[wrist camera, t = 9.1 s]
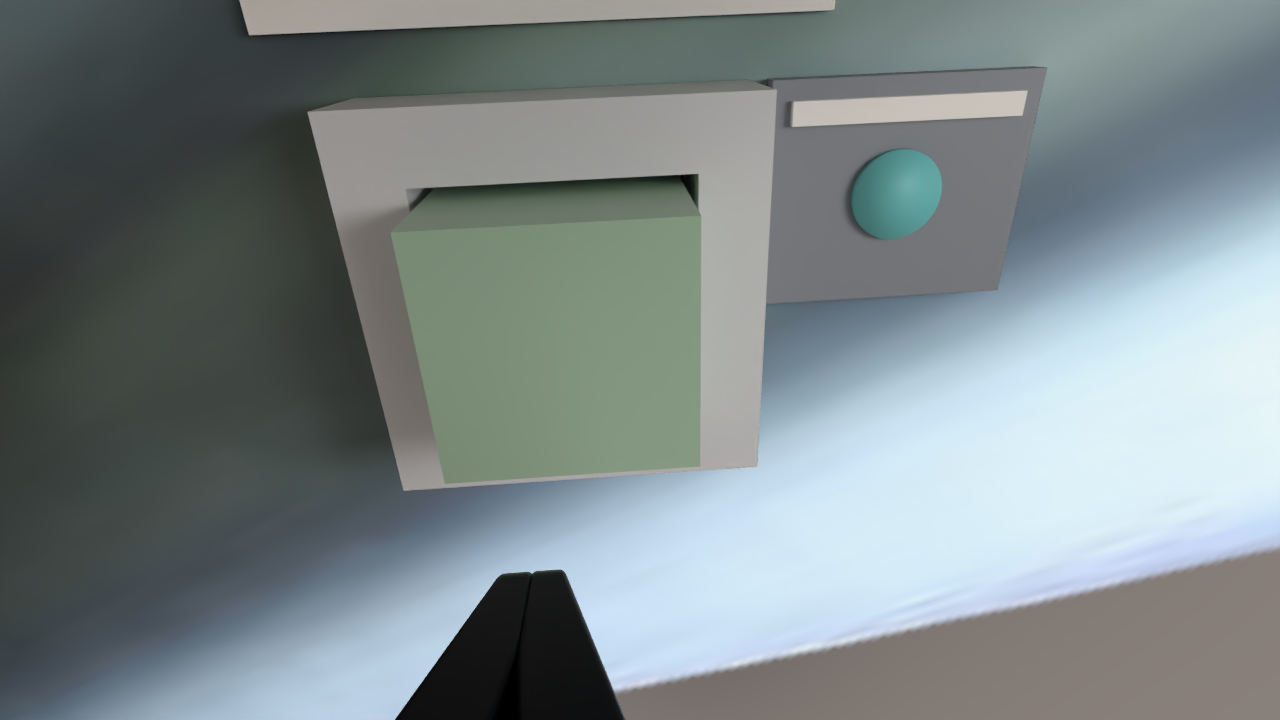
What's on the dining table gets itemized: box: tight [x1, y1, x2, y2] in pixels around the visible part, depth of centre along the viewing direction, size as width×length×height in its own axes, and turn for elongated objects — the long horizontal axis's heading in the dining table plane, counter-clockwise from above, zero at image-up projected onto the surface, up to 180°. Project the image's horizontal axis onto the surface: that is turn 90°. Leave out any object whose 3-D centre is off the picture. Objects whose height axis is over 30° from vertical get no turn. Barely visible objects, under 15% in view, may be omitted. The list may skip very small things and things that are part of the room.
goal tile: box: [766, 66, 1047, 304], centre depth 18 cm, size 7×6×1 cm
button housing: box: [308, 80, 777, 491], centre depth 18 cm, size 10×10×3 cm
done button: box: [390, 175, 701, 484], centre depth 16 cm, size 6×6×4 cm
